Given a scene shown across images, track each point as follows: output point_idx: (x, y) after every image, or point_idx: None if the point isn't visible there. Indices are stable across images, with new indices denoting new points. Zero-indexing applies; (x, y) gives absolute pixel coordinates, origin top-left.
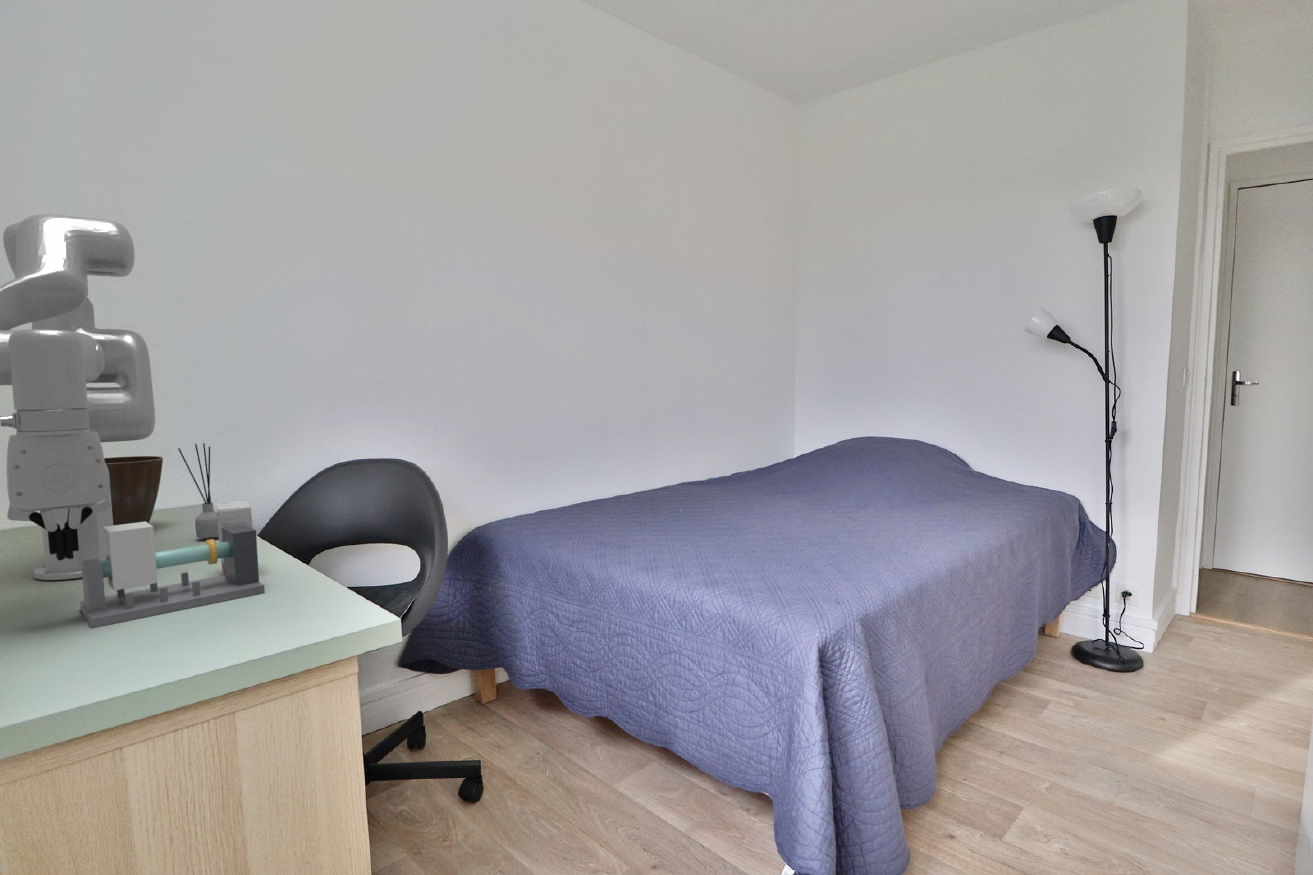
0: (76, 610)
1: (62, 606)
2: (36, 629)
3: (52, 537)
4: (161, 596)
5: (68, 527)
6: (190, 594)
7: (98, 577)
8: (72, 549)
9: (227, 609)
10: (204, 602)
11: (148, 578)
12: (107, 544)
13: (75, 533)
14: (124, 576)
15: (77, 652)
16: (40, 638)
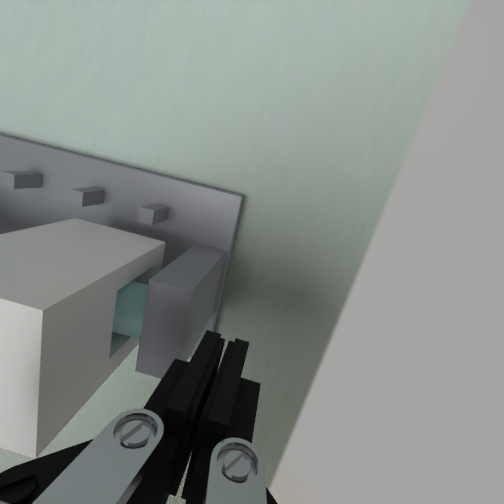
0: None
1: None
2: (306, 291)
3: (241, 427)
4: (95, 190)
5: (164, 441)
6: (44, 195)
7: (177, 269)
8: (199, 345)
9: (21, 57)
10: (40, 144)
11: (82, 226)
12: (86, 348)
13: (154, 406)
14: (124, 243)
15: (331, 26)
16: (328, 218)
